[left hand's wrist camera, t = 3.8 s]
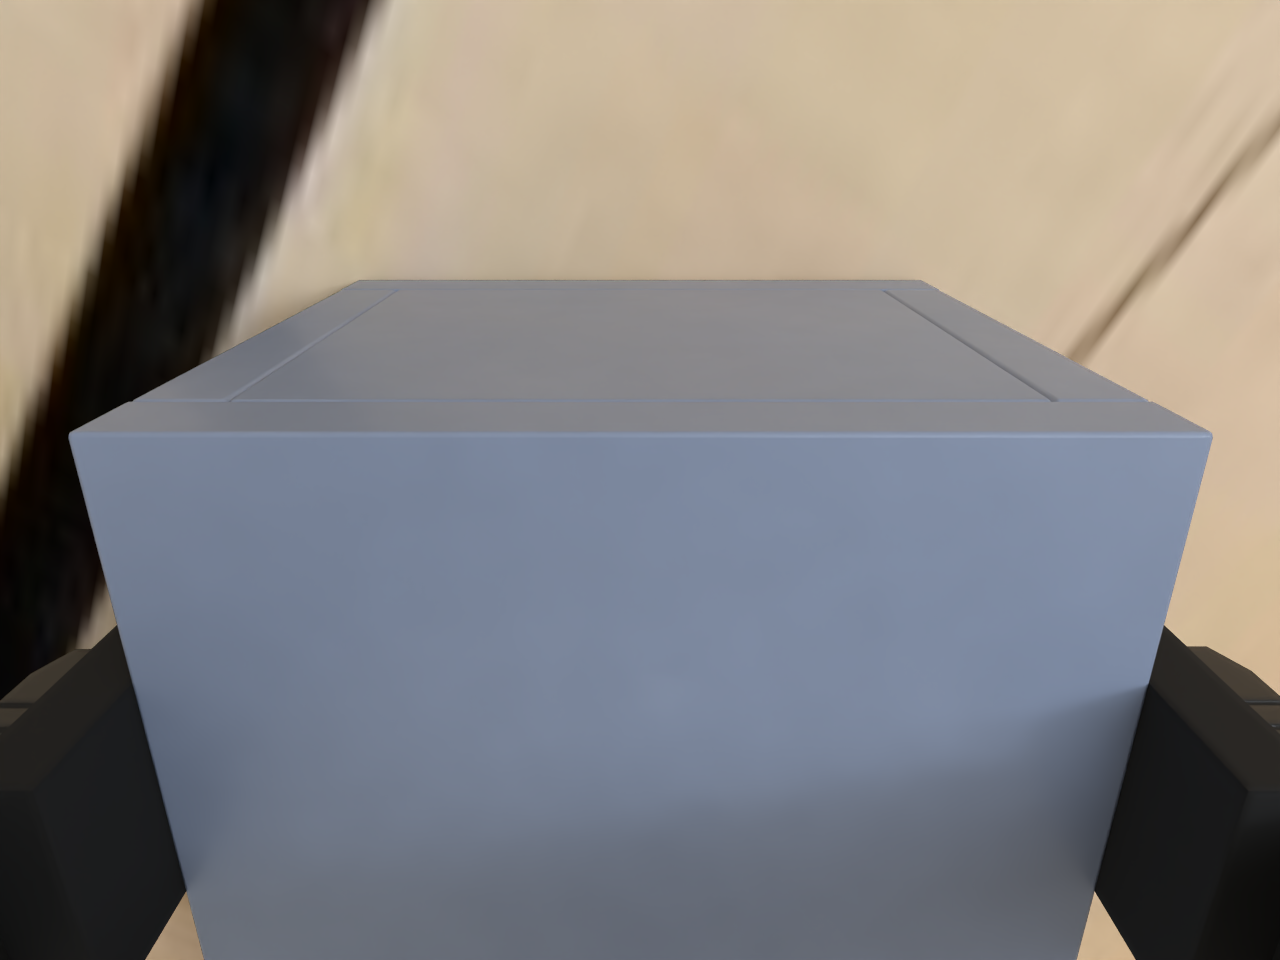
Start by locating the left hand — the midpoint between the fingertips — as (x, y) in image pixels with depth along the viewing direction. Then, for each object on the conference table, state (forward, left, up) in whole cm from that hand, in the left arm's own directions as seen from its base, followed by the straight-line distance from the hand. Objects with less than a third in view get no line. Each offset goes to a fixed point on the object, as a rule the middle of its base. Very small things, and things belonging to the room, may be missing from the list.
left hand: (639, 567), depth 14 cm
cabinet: (+6, -2, -3) cm, 8 cm away
